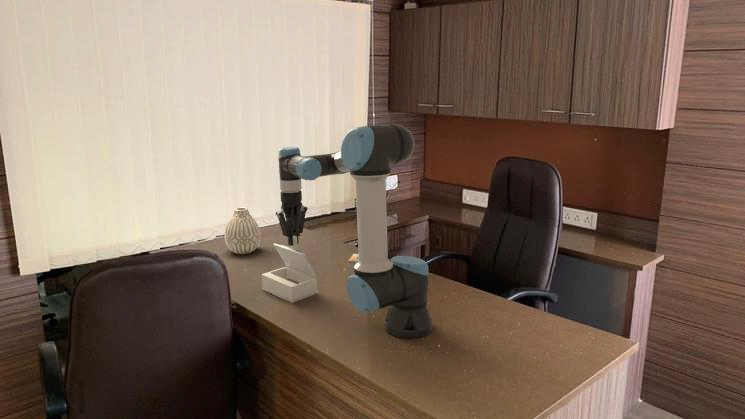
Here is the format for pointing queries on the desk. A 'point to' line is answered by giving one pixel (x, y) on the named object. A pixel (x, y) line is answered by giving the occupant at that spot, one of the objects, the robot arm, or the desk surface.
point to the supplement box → (352, 264)
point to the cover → (295, 259)
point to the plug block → (292, 281)
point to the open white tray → (289, 284)
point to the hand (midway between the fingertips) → (293, 253)
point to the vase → (242, 232)
